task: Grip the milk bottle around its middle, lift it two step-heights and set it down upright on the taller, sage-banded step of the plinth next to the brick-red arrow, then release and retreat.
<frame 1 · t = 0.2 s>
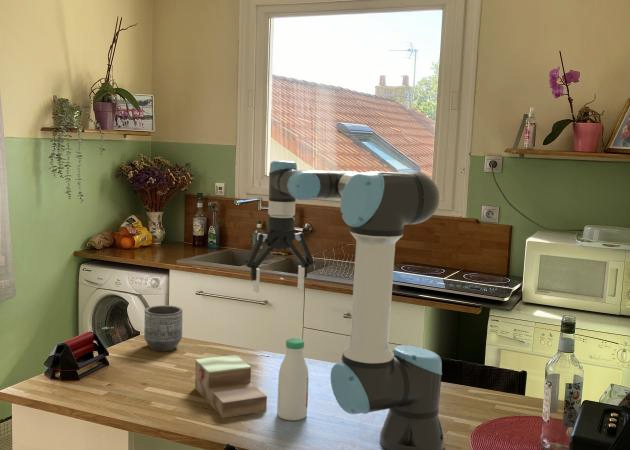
hand: (278, 290, 200), 28 cm above the counter, fingers open, 13 cm apart
plinth: (229, 399, 191), on the counter
planter: (163, 348, 233), on the counter
milk bottle: (291, 416, 182), on the counter
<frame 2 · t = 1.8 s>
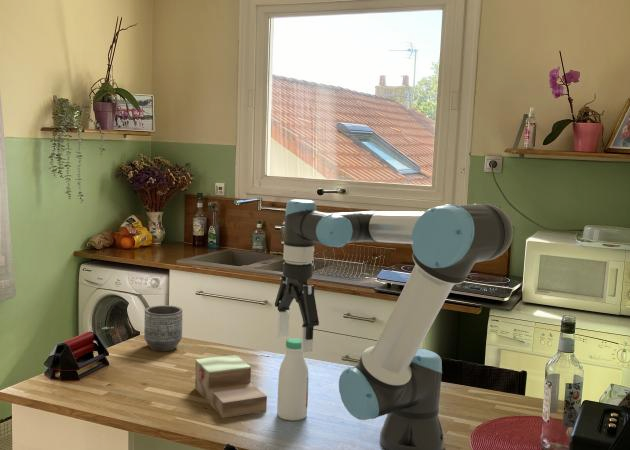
hand: (294, 343, 180), 19 cm above the counter, fingers open, 13 cm apart
nothing on the counter moved.
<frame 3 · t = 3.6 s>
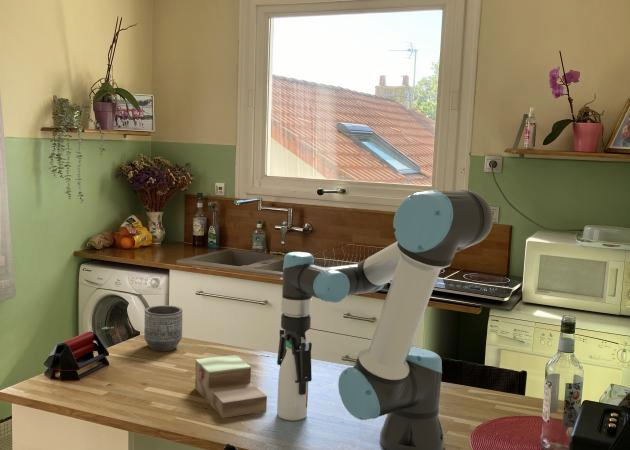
hand: (292, 399, 181), 4 cm above the counter, fingers closed on milk bottle, 8 cm apart
milk bottle: (291, 416, 182), on the counter, touching gripper
everything else where it was.
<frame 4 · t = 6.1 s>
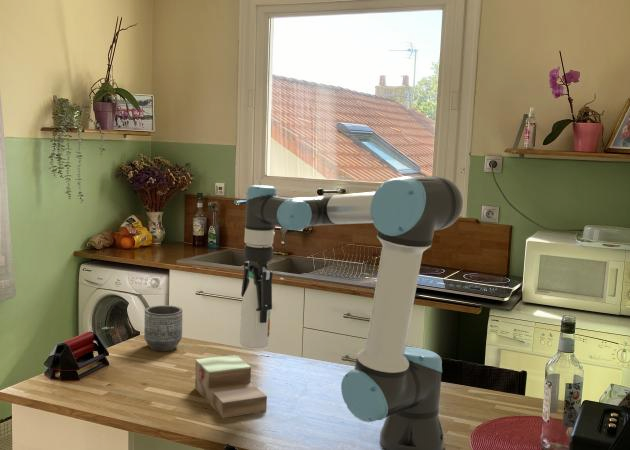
hand: (254, 329, 187), 20 cm above the counter, fingers closed on milk bottle, 8 cm apart
milk bottle: (254, 345, 188), point 16 cm above the counter, touching gripper
everything else where it was.
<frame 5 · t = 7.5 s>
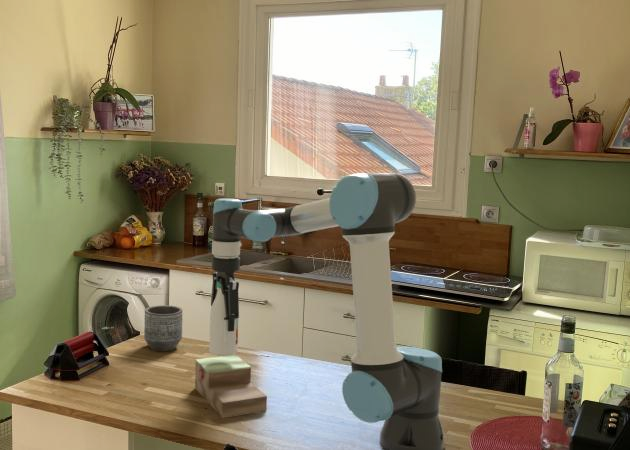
hand: (223, 337, 194), 16 cm above the counter, fingers closed on milk bottle, 8 cm apart
milk bottle: (223, 353, 194), point 11 cm above the counter, touching gripper
everything else where it was.
when the fingers open (14 cm above the counter, at t = 8.5 s): milk bottle drops 1 cm, resting on plinth.
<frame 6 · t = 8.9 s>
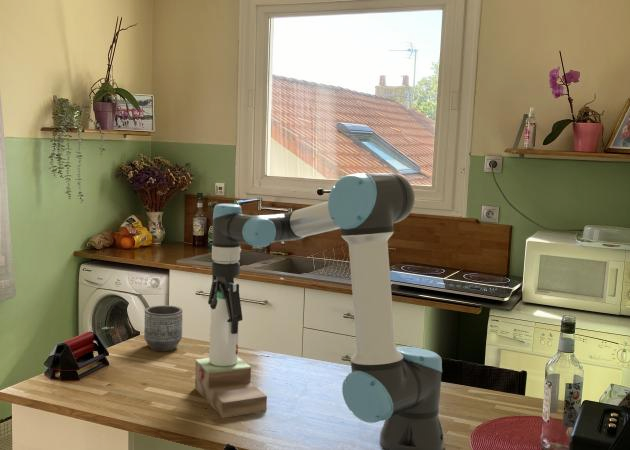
hand: (223, 338, 193), 16 cm above the counter, fingers open, 12 cm apart
milk bottle: (223, 363, 194), point 8 cm above the counter, touching plinth
everything else where it was.
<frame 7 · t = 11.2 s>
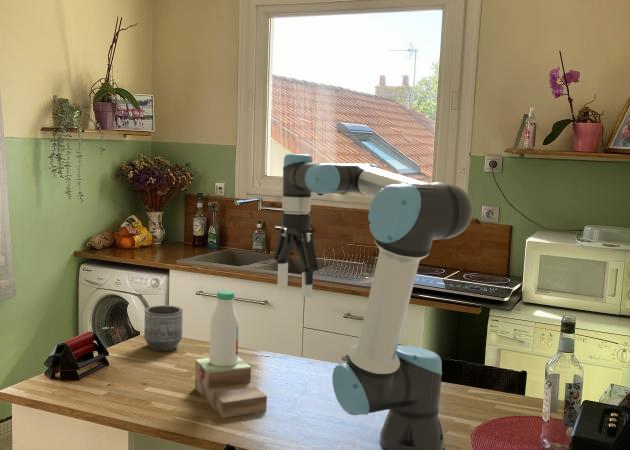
hand: (294, 291, 189), 30 cm above the counter, fingers open, 13 cm apart
nothing on the counter moved.
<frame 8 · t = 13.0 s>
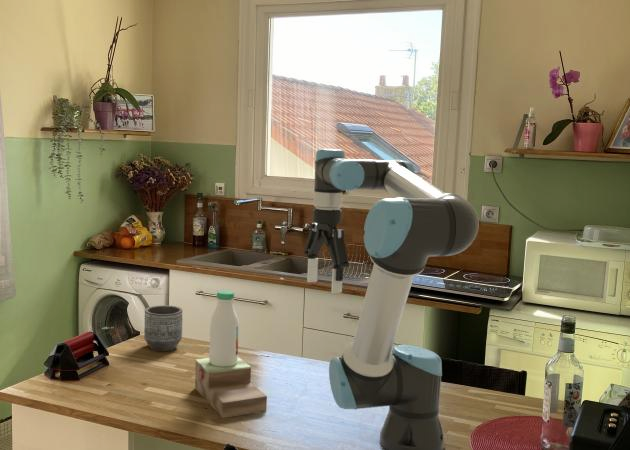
hand: (323, 287, 188), 32 cm above the counter, fingers open, 13 cm apart
nothing on the counter moved.
at the end: milk bottle inside the target area on the plinth (0.0 cm from its centre), point 8.2 cm above the plinth's base; milk bottle tilted 0°; the gripper is holding nothing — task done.
